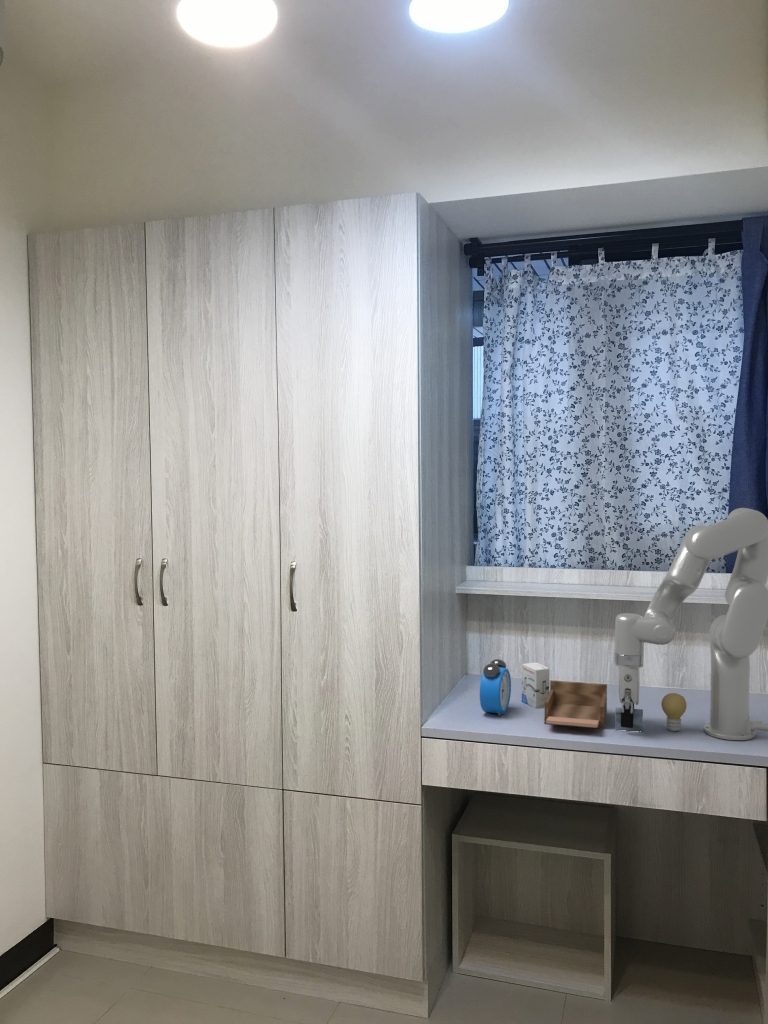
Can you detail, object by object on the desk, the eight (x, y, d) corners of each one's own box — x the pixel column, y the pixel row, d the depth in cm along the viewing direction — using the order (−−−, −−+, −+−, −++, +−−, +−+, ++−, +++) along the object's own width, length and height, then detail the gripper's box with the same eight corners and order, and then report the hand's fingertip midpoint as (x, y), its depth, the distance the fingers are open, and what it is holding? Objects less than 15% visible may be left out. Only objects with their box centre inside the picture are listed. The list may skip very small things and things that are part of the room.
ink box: (520, 701, 254) (520, 663, 253) (535, 699, 255) (535, 661, 255) (535, 708, 246) (535, 669, 245) (550, 706, 247) (550, 667, 247)
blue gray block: (642, 727, 227) (642, 709, 227) (642, 732, 223) (642, 714, 222) (615, 725, 229) (615, 707, 229) (615, 730, 225) (615, 712, 224)
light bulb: (666, 725, 229) (666, 689, 228) (689, 729, 225) (690, 692, 224) (657, 730, 224) (657, 694, 223) (681, 735, 220) (681, 698, 219)
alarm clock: (499, 720, 235) (499, 667, 234) (478, 717, 237) (478, 665, 237) (511, 707, 247) (511, 657, 246) (491, 705, 249) (491, 656, 249)
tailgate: (599, 719, 226) (597, 724, 219) (599, 722, 226) (597, 727, 219) (549, 715, 230) (546, 720, 223) (549, 718, 230) (546, 723, 223)
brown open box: (606, 713, 240) (606, 684, 240) (603, 728, 226) (604, 697, 226) (550, 708, 245) (550, 680, 245) (544, 723, 231) (544, 693, 230)
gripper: (643, 668, 216) (641, 733, 217) (643, 654, 232) (642, 714, 233) (613, 665, 218) (611, 730, 219) (615, 652, 234) (614, 711, 235)
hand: (627, 721), depth 226 cm, fingers open, 9 cm apart
